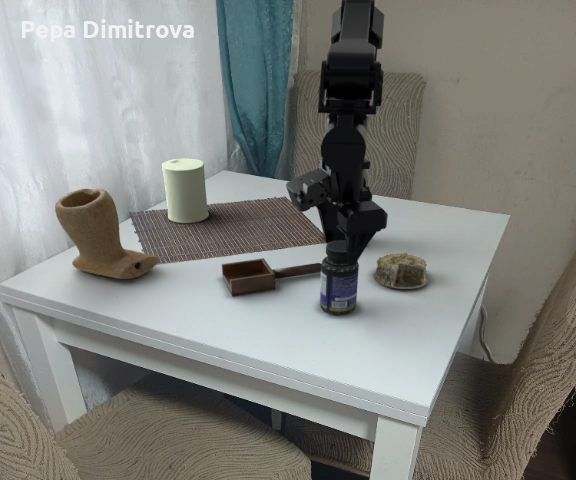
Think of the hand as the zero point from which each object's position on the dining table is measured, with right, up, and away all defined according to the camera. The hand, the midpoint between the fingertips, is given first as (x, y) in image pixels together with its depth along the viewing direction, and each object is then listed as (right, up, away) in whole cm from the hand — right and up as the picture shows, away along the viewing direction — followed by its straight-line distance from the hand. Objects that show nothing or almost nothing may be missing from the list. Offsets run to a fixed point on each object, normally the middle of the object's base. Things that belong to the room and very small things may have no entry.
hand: (339, 253), depth 91 cm
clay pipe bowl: (-42, 0, +17) cm, 45 cm away
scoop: (-10, -2, +14) cm, 17 cm away
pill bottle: (0, -8, +6) cm, 10 cm away
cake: (+13, -2, +14) cm, 19 cm away
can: (-31, +17, +39) cm, 53 cm away
